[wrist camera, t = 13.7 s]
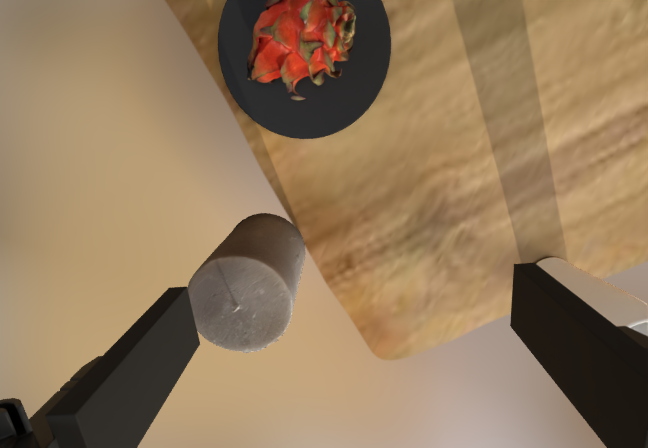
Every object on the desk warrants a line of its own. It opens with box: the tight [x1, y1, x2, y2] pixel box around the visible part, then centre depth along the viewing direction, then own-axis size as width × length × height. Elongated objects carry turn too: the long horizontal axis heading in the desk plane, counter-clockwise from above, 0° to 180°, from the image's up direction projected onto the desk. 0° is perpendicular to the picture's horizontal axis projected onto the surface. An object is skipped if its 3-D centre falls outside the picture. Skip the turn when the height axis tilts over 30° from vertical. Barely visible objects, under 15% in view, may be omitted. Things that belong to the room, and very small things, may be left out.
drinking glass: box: [536, 257, 648, 336], centre depth 37 cm, size 7×7×15 cm
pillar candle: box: [187, 213, 305, 353], centre depth 38 cm, size 10×10×15 cm
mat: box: [218, 0, 391, 139], centre depth 38 cm, size 18×18×1 cm
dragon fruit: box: [247, 0, 357, 100], centre depth 34 cm, size 8×8×12 cm
